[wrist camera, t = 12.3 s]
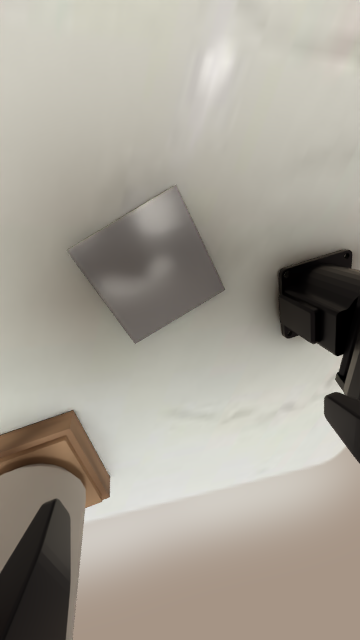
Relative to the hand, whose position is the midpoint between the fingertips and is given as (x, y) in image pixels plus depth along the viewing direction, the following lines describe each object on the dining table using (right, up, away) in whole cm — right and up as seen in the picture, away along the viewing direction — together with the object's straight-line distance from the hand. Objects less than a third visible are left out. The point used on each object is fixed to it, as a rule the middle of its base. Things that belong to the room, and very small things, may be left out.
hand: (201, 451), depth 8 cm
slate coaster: (-3, +8, +11) cm, 13 cm away
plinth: (-13, -9, +15) cm, 21 cm away
